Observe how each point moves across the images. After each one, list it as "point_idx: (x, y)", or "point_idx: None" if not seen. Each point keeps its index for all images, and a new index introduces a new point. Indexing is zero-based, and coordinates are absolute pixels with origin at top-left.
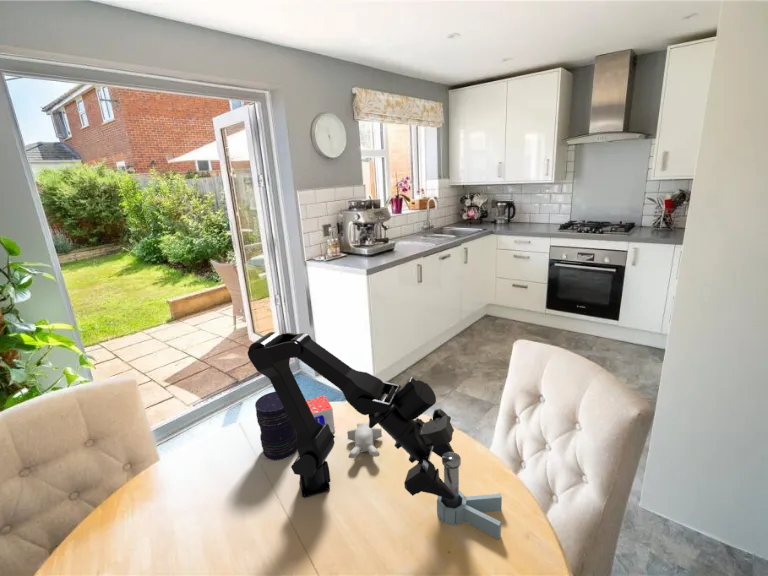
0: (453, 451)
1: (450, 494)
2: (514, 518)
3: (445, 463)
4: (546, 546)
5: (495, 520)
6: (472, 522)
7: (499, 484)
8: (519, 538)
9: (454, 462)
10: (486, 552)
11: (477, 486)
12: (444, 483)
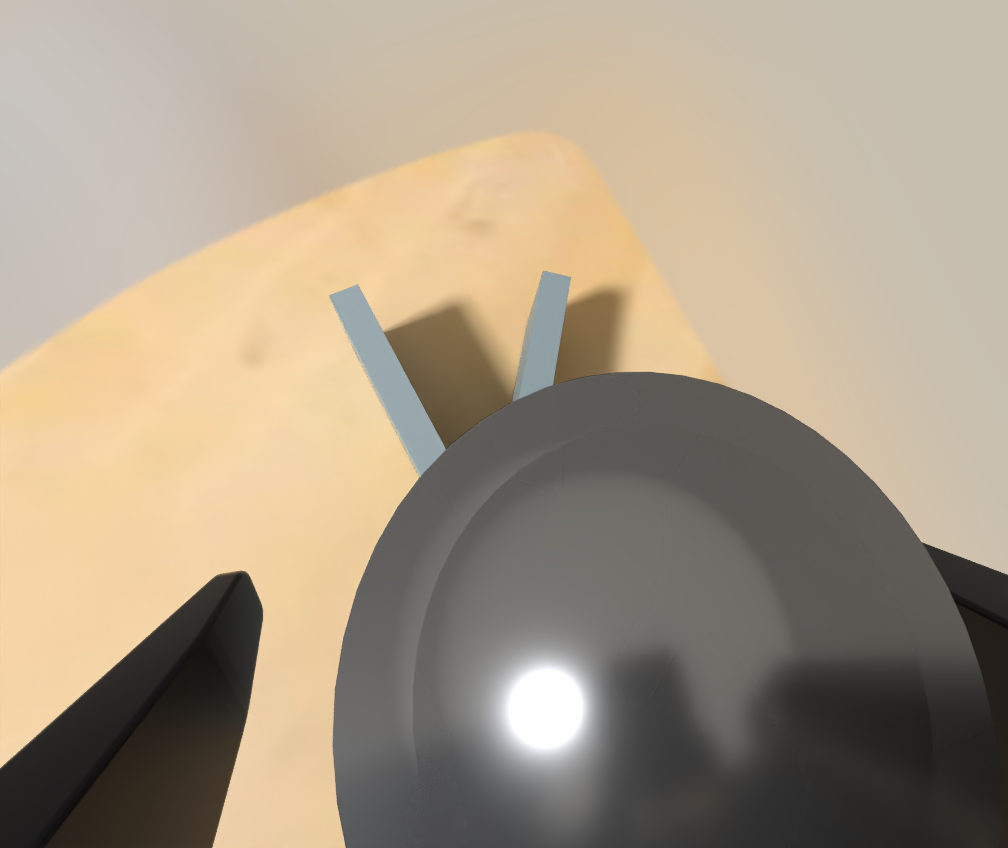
0: (15, 767)
1: None
2: (403, 277)
3: (983, 794)
4: (499, 165)
5: (546, 297)
6: None
7: (174, 368)
8: (505, 252)
9: (800, 510)
10: (635, 365)
11: (224, 488)
12: (1001, 612)
